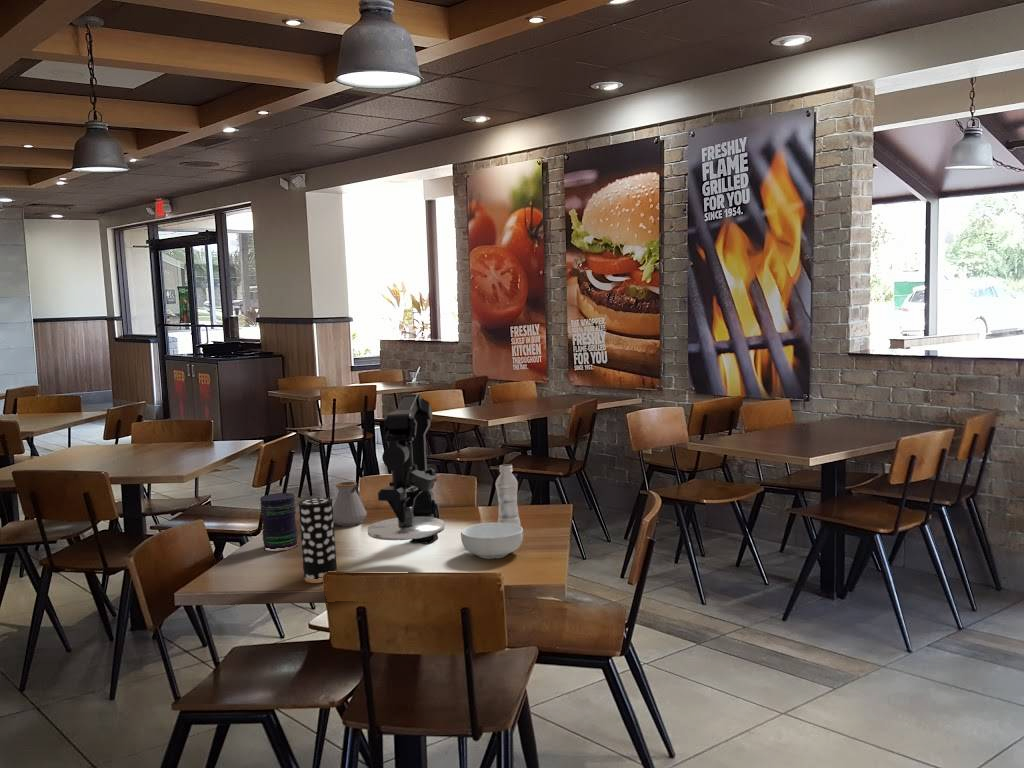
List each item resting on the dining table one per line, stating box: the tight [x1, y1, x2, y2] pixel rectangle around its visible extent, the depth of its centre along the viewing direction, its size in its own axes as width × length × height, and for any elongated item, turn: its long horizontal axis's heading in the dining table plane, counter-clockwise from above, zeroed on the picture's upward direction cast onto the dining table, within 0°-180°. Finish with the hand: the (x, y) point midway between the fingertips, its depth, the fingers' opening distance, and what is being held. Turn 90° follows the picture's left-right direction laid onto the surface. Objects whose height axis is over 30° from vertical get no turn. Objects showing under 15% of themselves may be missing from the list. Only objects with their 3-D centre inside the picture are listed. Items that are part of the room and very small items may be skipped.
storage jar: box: [259, 492, 299, 549], centre depth 265 cm, size 10×10×15 cm
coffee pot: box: [332, 481, 368, 527], centre depth 285 cm, size 21×12×15 cm, turn 23°
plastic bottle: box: [495, 463, 521, 526], centre depth 268 cm, size 6×7×20 cm
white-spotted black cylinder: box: [297, 497, 338, 579], centre depth 231 cm, size 8×8×20 cm
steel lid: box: [367, 505, 446, 541], centre depth 239 cm, size 20×20×6 cm
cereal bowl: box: [460, 522, 524, 560], centre depth 246 cm, size 17×17×7 cm
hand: (405, 520), depth 239 cm, fingers closed on steel lid, 4 cm apart
